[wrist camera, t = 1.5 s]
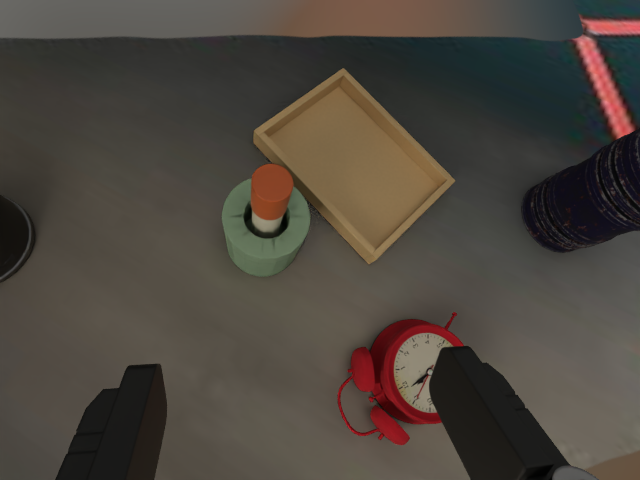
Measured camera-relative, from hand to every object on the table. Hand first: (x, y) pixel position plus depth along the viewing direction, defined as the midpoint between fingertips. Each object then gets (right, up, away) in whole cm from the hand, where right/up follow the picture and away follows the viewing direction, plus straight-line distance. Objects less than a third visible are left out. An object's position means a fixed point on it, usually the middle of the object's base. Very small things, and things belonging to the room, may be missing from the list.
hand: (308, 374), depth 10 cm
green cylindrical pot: (-6, +4, +29) cm, 30 cm away
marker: (-6, +4, +29) cm, 30 cm away
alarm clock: (+9, -11, +28) cm, 32 cm away
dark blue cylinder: (+31, +7, +38) cm, 50 cm away
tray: (+4, +13, +34) cm, 37 cm away
